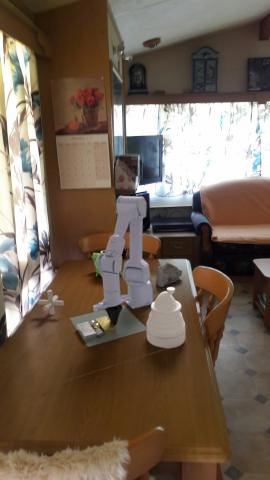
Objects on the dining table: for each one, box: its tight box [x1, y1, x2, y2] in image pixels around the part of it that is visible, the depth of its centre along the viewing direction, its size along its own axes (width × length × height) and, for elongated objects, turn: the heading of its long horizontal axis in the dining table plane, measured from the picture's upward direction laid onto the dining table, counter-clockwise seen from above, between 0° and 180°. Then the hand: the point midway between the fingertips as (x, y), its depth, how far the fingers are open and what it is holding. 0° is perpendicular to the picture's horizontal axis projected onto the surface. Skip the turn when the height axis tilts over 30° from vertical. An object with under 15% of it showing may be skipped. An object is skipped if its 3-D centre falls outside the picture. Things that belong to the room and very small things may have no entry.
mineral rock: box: [155, 262, 183, 288], centre depth 163 cm, size 13×11×10 cm
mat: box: [69, 304, 147, 348], centre depth 130 cm, size 22×22×1 cm
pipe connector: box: [37, 289, 65, 316], centre depth 138 cm, size 10×10×10 cm
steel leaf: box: [76, 320, 103, 343], centre depth 124 cm, size 9×6×2 cm
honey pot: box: [145, 286, 186, 349], centre depth 117 cm, size 13×13×18 cm
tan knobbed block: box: [92, 316, 116, 335], centre depth 126 cm, size 9×6×2 cm
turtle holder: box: [91, 249, 123, 277], centre depth 177 cm, size 12×18×12 cm
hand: (114, 324), depth 128 cm, fingers closed
